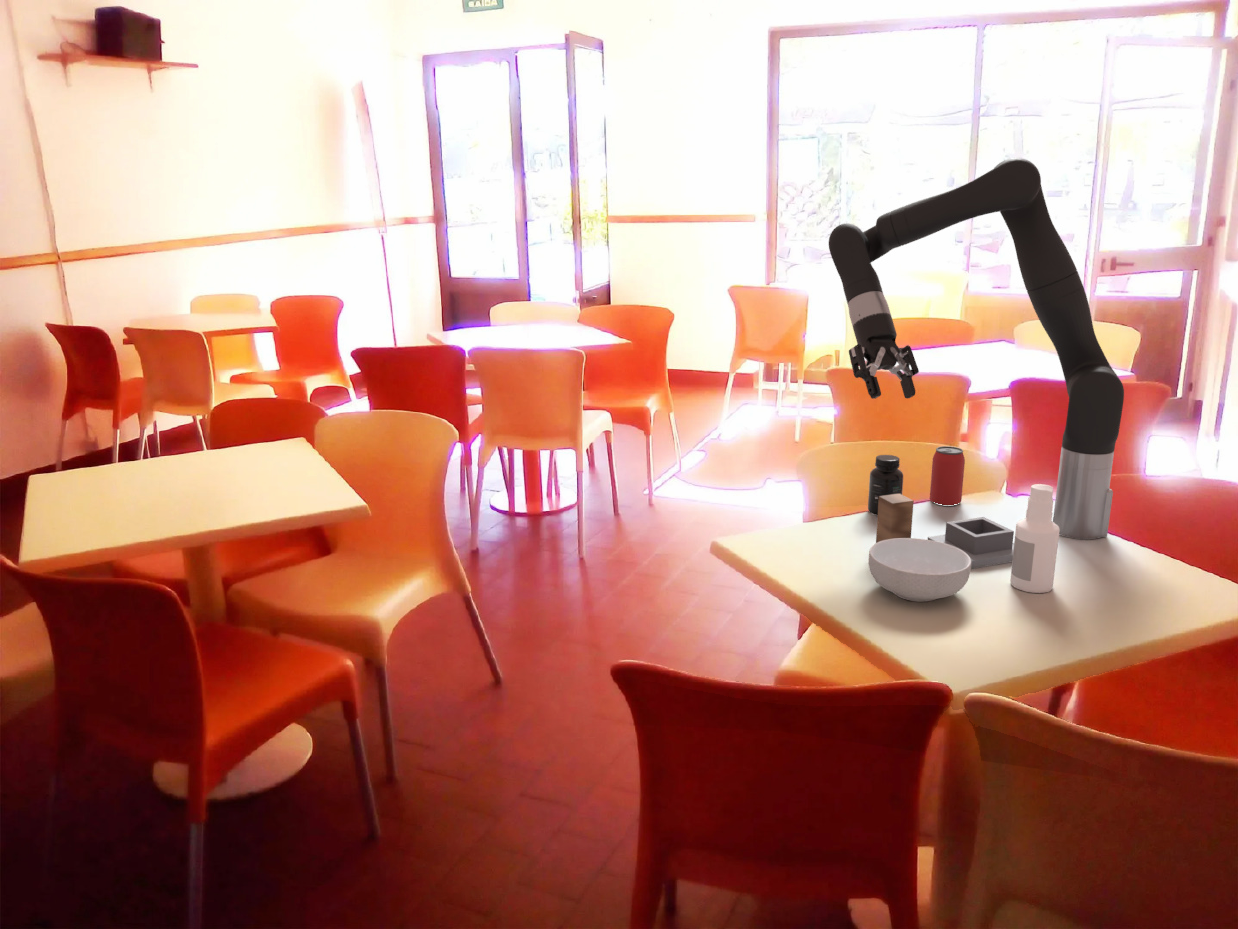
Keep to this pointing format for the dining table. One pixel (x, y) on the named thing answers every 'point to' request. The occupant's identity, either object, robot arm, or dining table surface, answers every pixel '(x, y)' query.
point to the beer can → (947, 475)
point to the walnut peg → (894, 517)
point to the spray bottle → (1036, 544)
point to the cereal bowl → (919, 568)
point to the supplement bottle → (884, 480)
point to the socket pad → (979, 540)
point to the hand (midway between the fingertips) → (893, 397)
